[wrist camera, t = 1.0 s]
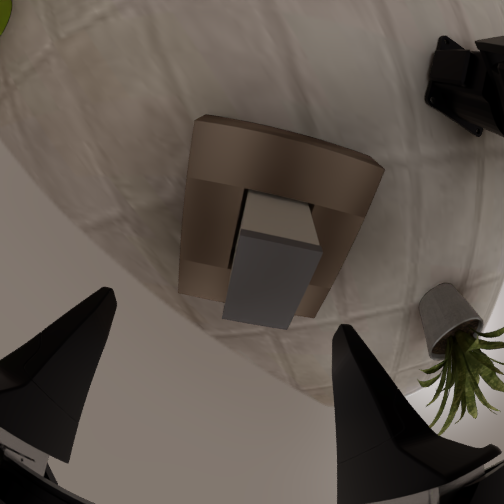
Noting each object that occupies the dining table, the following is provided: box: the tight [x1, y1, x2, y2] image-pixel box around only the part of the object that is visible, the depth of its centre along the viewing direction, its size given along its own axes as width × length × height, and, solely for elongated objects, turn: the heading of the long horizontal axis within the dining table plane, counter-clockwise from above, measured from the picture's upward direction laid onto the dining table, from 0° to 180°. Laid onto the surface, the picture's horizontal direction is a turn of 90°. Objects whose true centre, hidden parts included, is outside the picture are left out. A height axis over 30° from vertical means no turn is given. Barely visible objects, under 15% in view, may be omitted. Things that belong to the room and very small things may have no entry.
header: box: [178, 115, 385, 318], centre depth 20 cm, size 12×14×3 cm
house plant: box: [417, 283, 504, 436], centre depth 20 cm, size 14×14×16 cm
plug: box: [222, 189, 323, 330], centre depth 18 cm, size 4×6×7 cm
